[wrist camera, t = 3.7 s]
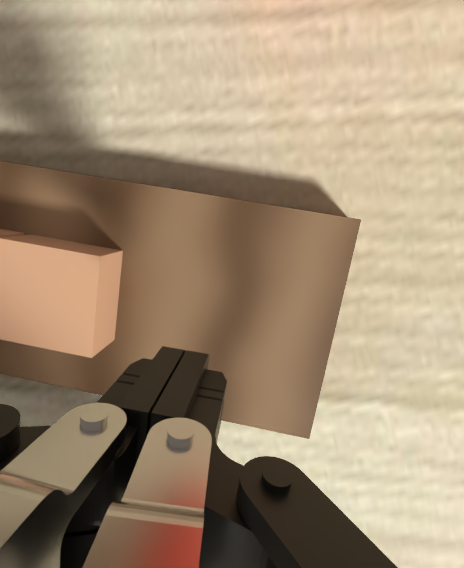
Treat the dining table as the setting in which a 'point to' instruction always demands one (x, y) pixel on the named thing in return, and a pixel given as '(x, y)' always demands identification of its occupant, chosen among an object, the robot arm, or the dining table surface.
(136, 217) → the board
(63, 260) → the tile
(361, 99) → the dining table surface
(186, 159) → the dining table surface
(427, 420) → the dining table surface
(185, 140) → the dining table surface
